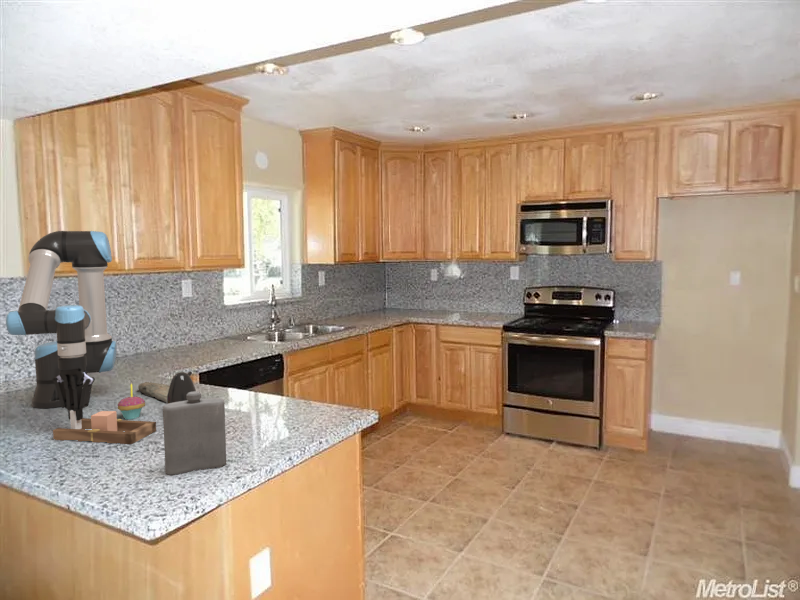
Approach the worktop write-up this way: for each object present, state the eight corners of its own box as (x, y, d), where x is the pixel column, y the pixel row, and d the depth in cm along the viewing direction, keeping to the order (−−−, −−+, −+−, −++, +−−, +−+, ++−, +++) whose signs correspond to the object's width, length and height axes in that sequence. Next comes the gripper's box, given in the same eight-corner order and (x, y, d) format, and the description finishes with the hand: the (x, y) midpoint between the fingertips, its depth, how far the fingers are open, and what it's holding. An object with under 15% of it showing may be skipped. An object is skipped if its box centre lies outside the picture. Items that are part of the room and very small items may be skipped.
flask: (224, 458, 145) (222, 387, 143) (227, 466, 140) (225, 392, 138) (165, 468, 139) (162, 393, 137) (165, 476, 134) (162, 399, 132)
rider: (102, 432, 167) (100, 411, 166) (117, 433, 167) (116, 411, 166) (92, 438, 162) (90, 415, 161) (107, 438, 162) (106, 416, 161)
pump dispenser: (204, 411, 189) (203, 369, 187) (185, 420, 179) (184, 376, 177) (180, 409, 191) (178, 368, 190) (160, 418, 181) (158, 374, 180)
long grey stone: (170, 411, 194) (196, 407, 202) (171, 397, 194) (196, 393, 201) (131, 390, 217) (155, 387, 225) (131, 378, 217) (156, 375, 224)
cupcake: (120, 415, 185) (118, 381, 184) (146, 412, 188) (145, 379, 187) (116, 422, 177) (114, 387, 176) (144, 419, 180) (142, 384, 179)
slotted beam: (83, 427, 172) (82, 417, 172) (156, 430, 168) (155, 420, 168) (53, 439, 160) (52, 429, 160) (131, 444, 156) (131, 433, 156)
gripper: (43, 357, 161) (48, 432, 163) (82, 358, 159) (86, 434, 161) (62, 352, 169) (66, 425, 171) (99, 353, 167) (103, 426, 169)
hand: (76, 429), depth 166 cm, fingers closed
